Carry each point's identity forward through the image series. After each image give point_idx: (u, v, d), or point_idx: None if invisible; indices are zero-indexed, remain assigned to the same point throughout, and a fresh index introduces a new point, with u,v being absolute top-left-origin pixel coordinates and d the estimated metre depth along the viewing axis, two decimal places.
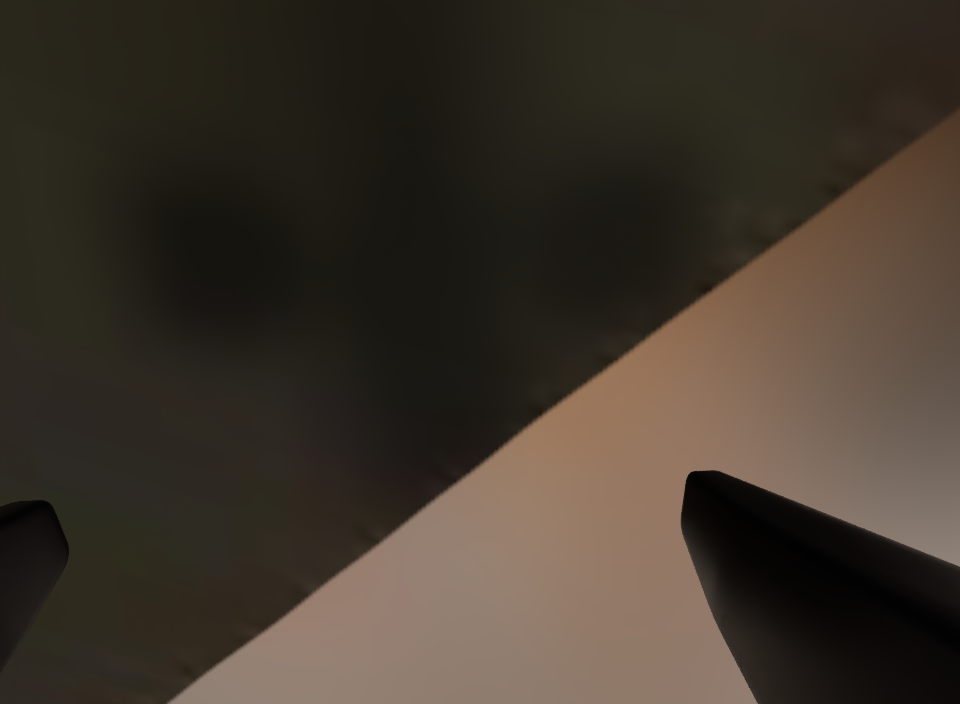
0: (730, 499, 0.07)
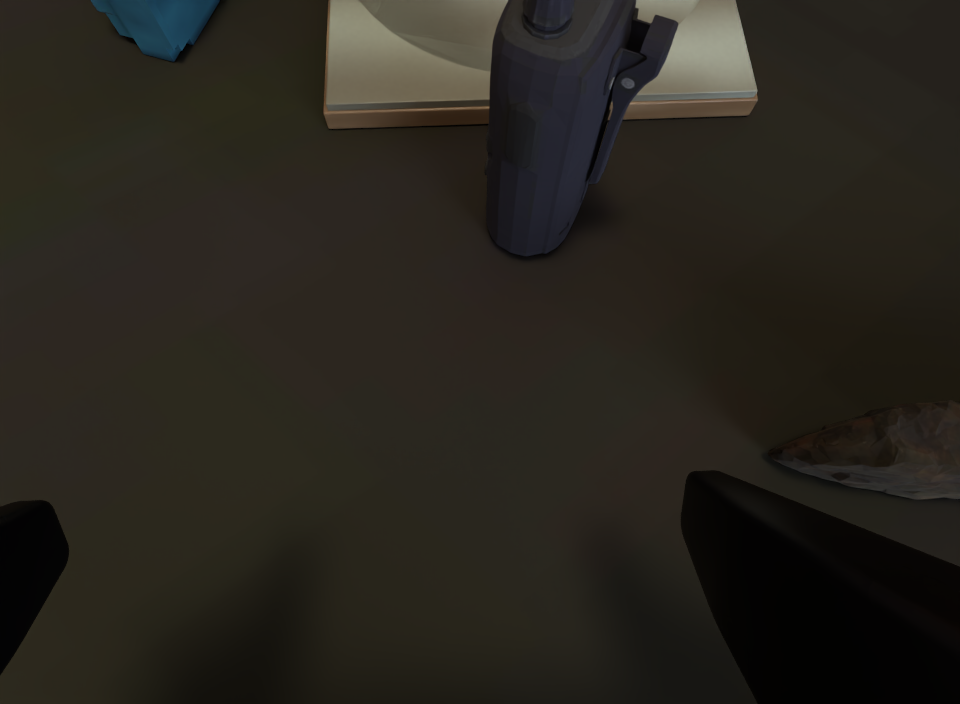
0: (730, 499, 0.07)
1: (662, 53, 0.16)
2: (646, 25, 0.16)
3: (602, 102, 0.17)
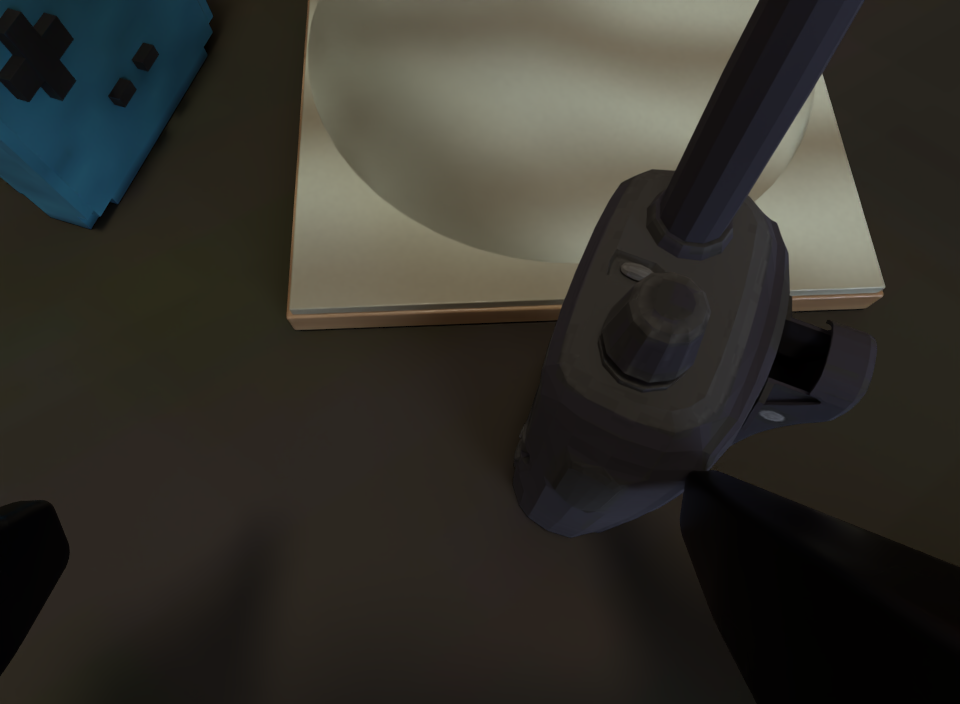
0: (729, 499, 0.07)
1: (853, 402, 0.09)
2: (809, 329, 0.09)
3: None
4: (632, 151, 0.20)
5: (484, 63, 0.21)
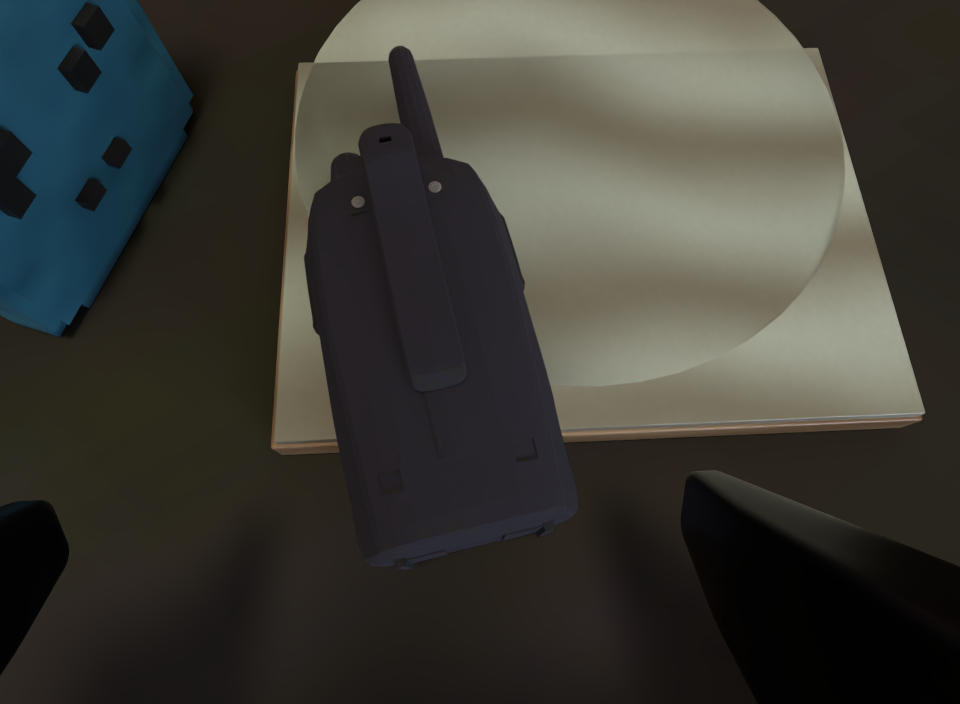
0: (730, 499, 0.07)
1: None
2: None
3: (359, 227, 0.15)
4: (647, 254, 0.18)
5: (486, 153, 0.20)
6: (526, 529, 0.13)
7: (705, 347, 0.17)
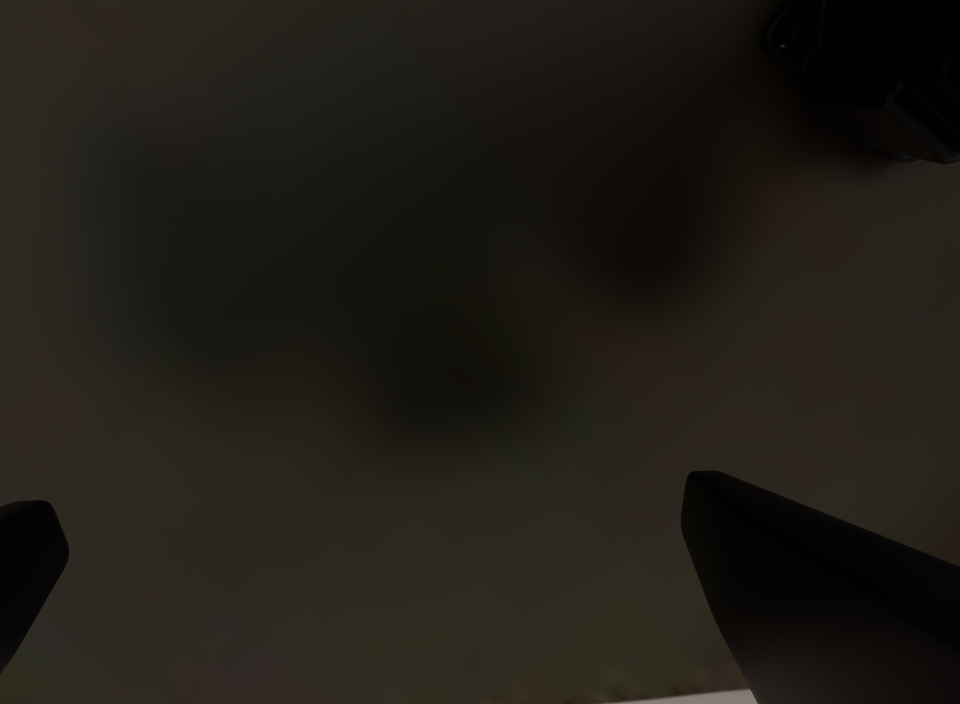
0: (730, 499, 0.07)
1: None
2: None
3: None
4: None
5: None
6: None
7: None
